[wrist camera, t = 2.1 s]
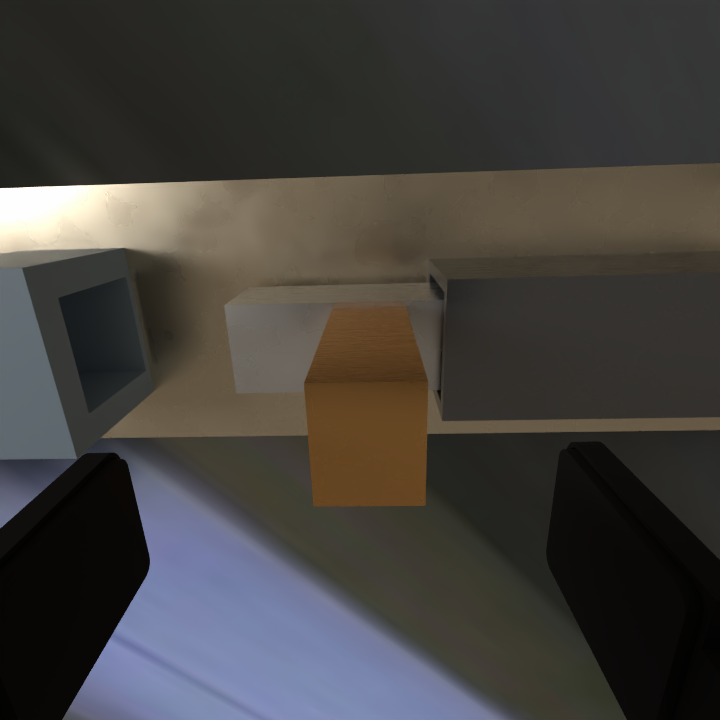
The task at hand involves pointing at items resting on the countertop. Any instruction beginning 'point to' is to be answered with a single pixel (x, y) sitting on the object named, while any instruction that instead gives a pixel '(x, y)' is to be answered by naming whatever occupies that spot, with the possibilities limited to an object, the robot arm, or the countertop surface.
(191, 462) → the countertop surface
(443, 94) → the countertop surface
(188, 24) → the countertop surface
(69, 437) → the socket block
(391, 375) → the sliding bar with handle
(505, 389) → the stand
